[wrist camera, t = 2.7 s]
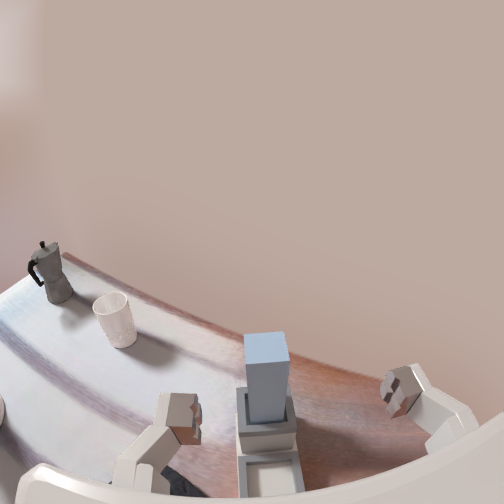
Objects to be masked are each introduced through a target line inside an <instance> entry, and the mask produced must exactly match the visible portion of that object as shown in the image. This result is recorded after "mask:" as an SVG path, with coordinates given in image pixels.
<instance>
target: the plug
mask: <svg viewBox="0 0 504 504" xmlns="http://www.w3.org/2000/svg"><path fill="white" fill-rule="evenodd" d="M244 345H245V362H246V375H247V388H248V401H249V413H250V425H259V424H271V423H281V422H283V419H284V411H285V402H286V393H287V384H288V375H289V365H290V359H289V354H288V349H287V345H286V340H285V336H284V332H270V333H257V334H244Z"/></svg>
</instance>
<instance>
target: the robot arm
mask: <svg viewBox="0 0 504 504" xmlns="http://www.w3.org/2000/svg"><path fill="white" fill-rule="evenodd" d="M385 376H386V379H385V380H384V381H383V382H382V384H381V386H380V393H381V397H382V399H383V401H385V402H387V407H386V408H387V411H388V413H389V416H390V418H391V419H392V418H395V417H399V416H402V415H405V414H406V415H407V416H408V417H409V418H410V419H412V420H413V421H414V422H415V423H416V424H418V425H419V426H420V427H421V428H423V429H424V430H425V431H426V432H428V433H429V434H430V435H431V437H430V438H429V439H428V440H427V441H426V443H425V447H426V449H427V452H428V455H426V456H423V457H421V458H419V459H417V460H414V461H412V462H409V463H407V464H404V465H402V466H399V467H396V468H394V469H391V470H388V471H385V472H382V473H379V474H376V475H373V476H370V477H367V478H363V479H360V480H356V481H353V482H349V483H345V484H341V485H336V486H332V487H327V488H323V489H317V490H312V491H306V492H300V493H293V494H285V495H277V496H266V497H251V498H199V497H184V496H174V495H170V483H169V481H167V480H166V479H165V478H164V477H163V476H162V475H161V474H160V473H161V472H162V470H163V469H164V468H165V467H166V465H167V464H168V463H169V461H170V460H171V459H172V457H173V456H174V455H175V454H176V452H177V451H178V450H179V448H180V447H181V445H201V430H200V427H199V426H200V425H201V424H202V410H201V405H200V403H198V396H197V394H184V393H162V392H160V394H159V396H158V401H157V406H156V412H155V417H154V423H153V425H149V426H148V427H147V428H146V429H145V430H144V431H143V432H142V433H141V434H140V435H139V436H138V437H137V438H136V439H135V440H134V441H133V442H132V443H131V444H130V445H129V446H128V447H127V448H126V449H125V450H124V451H123V452H122V453H121V454H120V455H119V456H118V457H117V458H116V463H115V468H114V473H113V479H112V484H107V483H103V482H99V481H96V480H92V479H89V478H85V477H82V476H79V475H76V474H73V473H70V472H67V471H65V470H62V469H59V468H57V467H54V466H51V465H49V464H45V463H40V464H38V465H36V466H35V467H33V468H32V469H30V470H29V471H28V472H26V473H25V474H24V475H23V476H22V477H21V478H20V481H19V484H18V488H17V493H16V498H15V504H504V411H503V412H501V413H500V414H499V415H497V416H495V417H494V418H492V419H491V420H489V421H488V422H486V423H485V424H483V425H482V426H479V424H478V422H477V420H476V418H475V417H474V415H473V413H472V411H471V409H470V408H469V407H467V406H466V405H464V404H463V403H461V402H459V401H458V400H456V399H454V398H452V397H451V396H449V395H447V394H445V393H444V392H442V391H440V390H439V389H437V388H432V386H431V384H430V382H429V381H428V379H427V377H426V376H425V374H424V372H423V370H422V369H421V367H420V365H419V364H417V363H414V364H411V365H408V366H403V367H400V368H397V369H393V370H389V371H388V372H387V373H386V375H385ZM3 417H4V402H3V399H2V397H1V396H0V426H1V423H2V421H3Z"/></svg>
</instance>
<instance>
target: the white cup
mask: <svg viewBox="0 0 504 504" xmlns="http://www.w3.org/2000/svg"><path fill="white" fill-rule="evenodd" d="M93 311H94V313H95V315H96V317H97V319H98V321H99V323H100V325H101V327H102V329H103V331H104V333H105V335H106V336H107V338H108V340H109V342H110V344H111V345H112V346H114V347H115V348H126V347H129V346H130V345H132V344H133V343H134V342H135V341H136V339H137V332H136V329H135V325H134V321H133V317H132V313H131V310H130V306H129V303H128V299H127V296H126V295H125V294H124V293H121V292H110V293H107V294H104V295H102V296H100V297H99V298H98V299H97V300H96V301H95V302H94V304H93Z"/></svg>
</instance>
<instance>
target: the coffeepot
mask: <svg viewBox="0 0 504 504" xmlns="http://www.w3.org/2000/svg"><path fill="white" fill-rule="evenodd" d="M44 244H45V243H44V241H41V242H40V246H41V248H40V249H38V250H37V251H35V252H34V254H33V255H32V256H31V258H32V260H31V261H29V263H28V272H29V274H30V275H31V276H32V278H33V279H34V280H35V281H36V283H37V284H38V285H39V286H40V287H41V286H43V284H44V285H45V290H46V294H47V298H48V301H50V302H51V303H52V304H59V303H62V302H64V301H66V300H67V299H69V298H70V297H71V295H72V293H73V288H72V287H71V285H70V283H69V281H68V280H67V278H66V276H65V274H64V273H63V272H62V263H61V258H60V252H59V246H58V245H57V244H58V243H52V244H50V245H48V246H45V245H44ZM33 266H36V267H37V269H38V271H39V273H40V275H41V276H42V277H43V279H44V281H42V282H40V280H39V278H38V277H37V275H36V273H35V272H34V270H33Z"/></svg>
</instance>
